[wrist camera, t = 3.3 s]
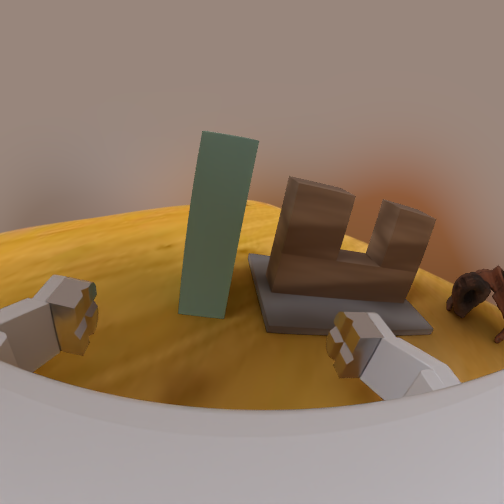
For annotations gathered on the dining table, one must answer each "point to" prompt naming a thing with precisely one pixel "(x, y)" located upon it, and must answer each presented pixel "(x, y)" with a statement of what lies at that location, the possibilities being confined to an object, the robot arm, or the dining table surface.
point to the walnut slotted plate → (339, 264)
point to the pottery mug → (478, 292)
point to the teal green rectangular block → (215, 222)
